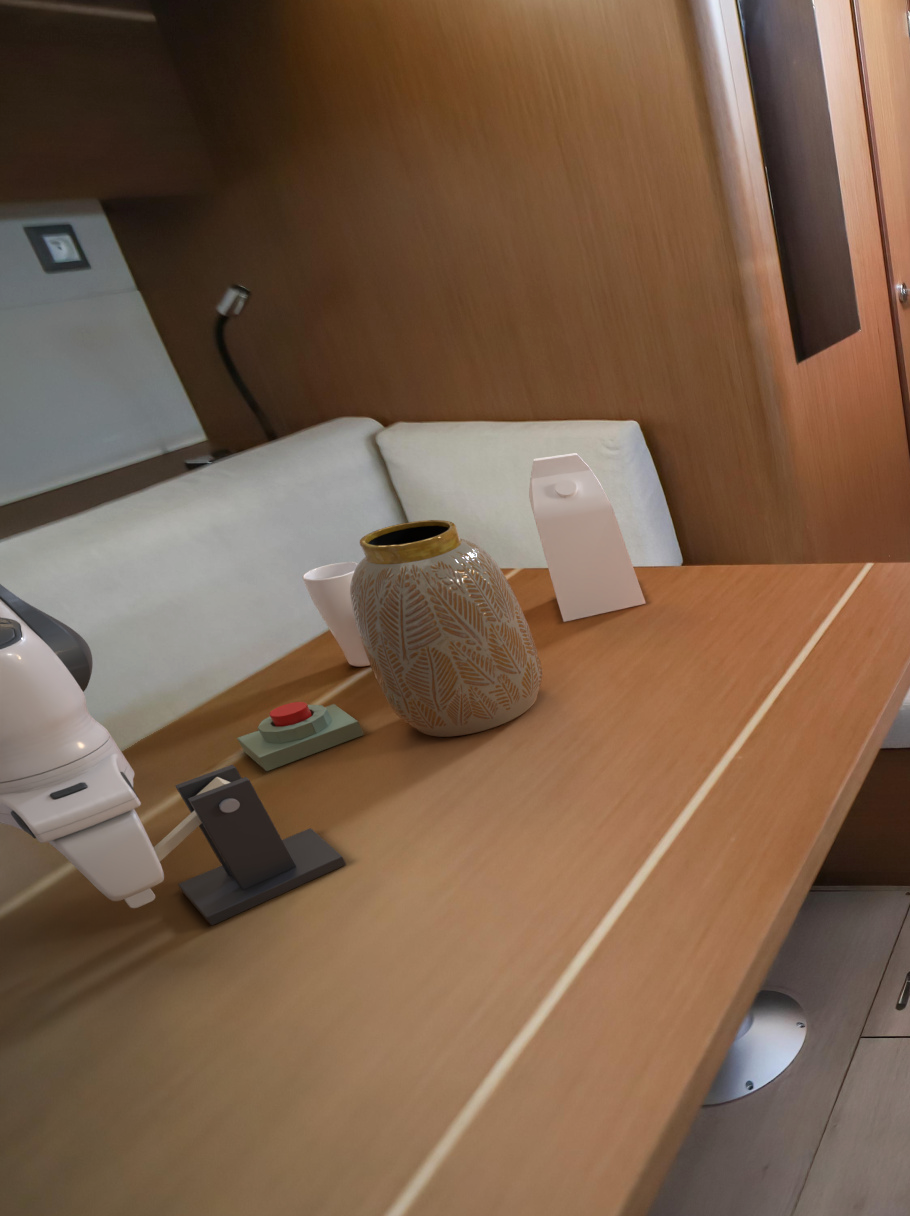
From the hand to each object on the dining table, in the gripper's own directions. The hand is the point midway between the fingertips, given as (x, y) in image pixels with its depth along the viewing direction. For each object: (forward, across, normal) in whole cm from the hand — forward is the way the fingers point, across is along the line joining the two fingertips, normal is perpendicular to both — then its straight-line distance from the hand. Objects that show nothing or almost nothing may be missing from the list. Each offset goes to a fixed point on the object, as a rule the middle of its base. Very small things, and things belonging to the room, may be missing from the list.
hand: (135, 893), depth 95 cm
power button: (+1, -29, +21) cm, 36 cm away
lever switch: (-3, 0, +5) cm, 6 cm away
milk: (+5, -41, +65) cm, 77 cm away
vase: (+5, -19, +37) cm, 41 cm away
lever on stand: (+5, 0, +8) cm, 10 cm away
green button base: (+4, -29, +21) cm, 36 cm away
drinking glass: (+4, -49, +35) cm, 60 cm away
